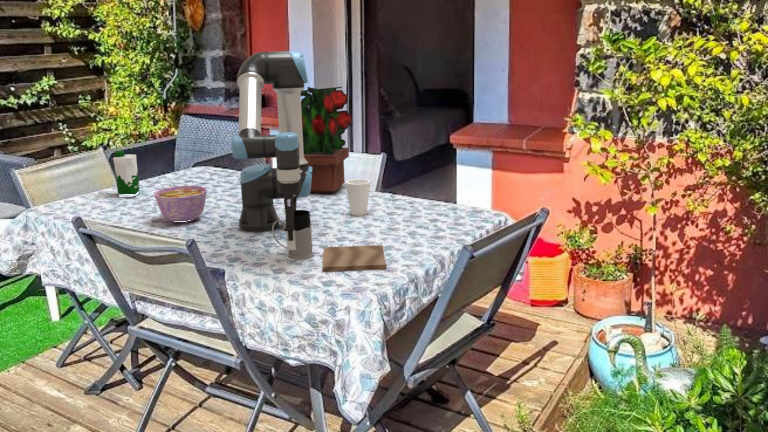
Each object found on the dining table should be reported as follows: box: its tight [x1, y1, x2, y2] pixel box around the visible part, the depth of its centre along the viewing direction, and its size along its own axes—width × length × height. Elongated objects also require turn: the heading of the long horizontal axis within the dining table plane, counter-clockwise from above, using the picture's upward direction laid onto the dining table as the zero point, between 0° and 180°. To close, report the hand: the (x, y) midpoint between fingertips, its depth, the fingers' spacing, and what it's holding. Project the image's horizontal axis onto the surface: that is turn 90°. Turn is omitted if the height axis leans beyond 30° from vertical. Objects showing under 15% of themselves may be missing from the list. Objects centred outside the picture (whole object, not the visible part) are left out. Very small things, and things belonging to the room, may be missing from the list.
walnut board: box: [322, 244, 387, 273], centre depth 256 cm, size 20×20×2 cm
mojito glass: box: [112, 150, 140, 195], centre depth 343 cm, size 9×9×20 cm
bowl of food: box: [153, 185, 208, 222], centre depth 305 cm, size 20×20×12 cm
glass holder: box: [271, 209, 315, 261], centre depth 258 cm, size 9×14×15 cm, turn 125°
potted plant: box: [301, 86, 352, 195], centre depth 341 cm, size 22×22×45 cm
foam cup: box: [345, 178, 371, 217], centre depth 308 cm, size 10×9×13 cm
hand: (292, 243), depth 258 cm, fingers open, 13 cm apart
